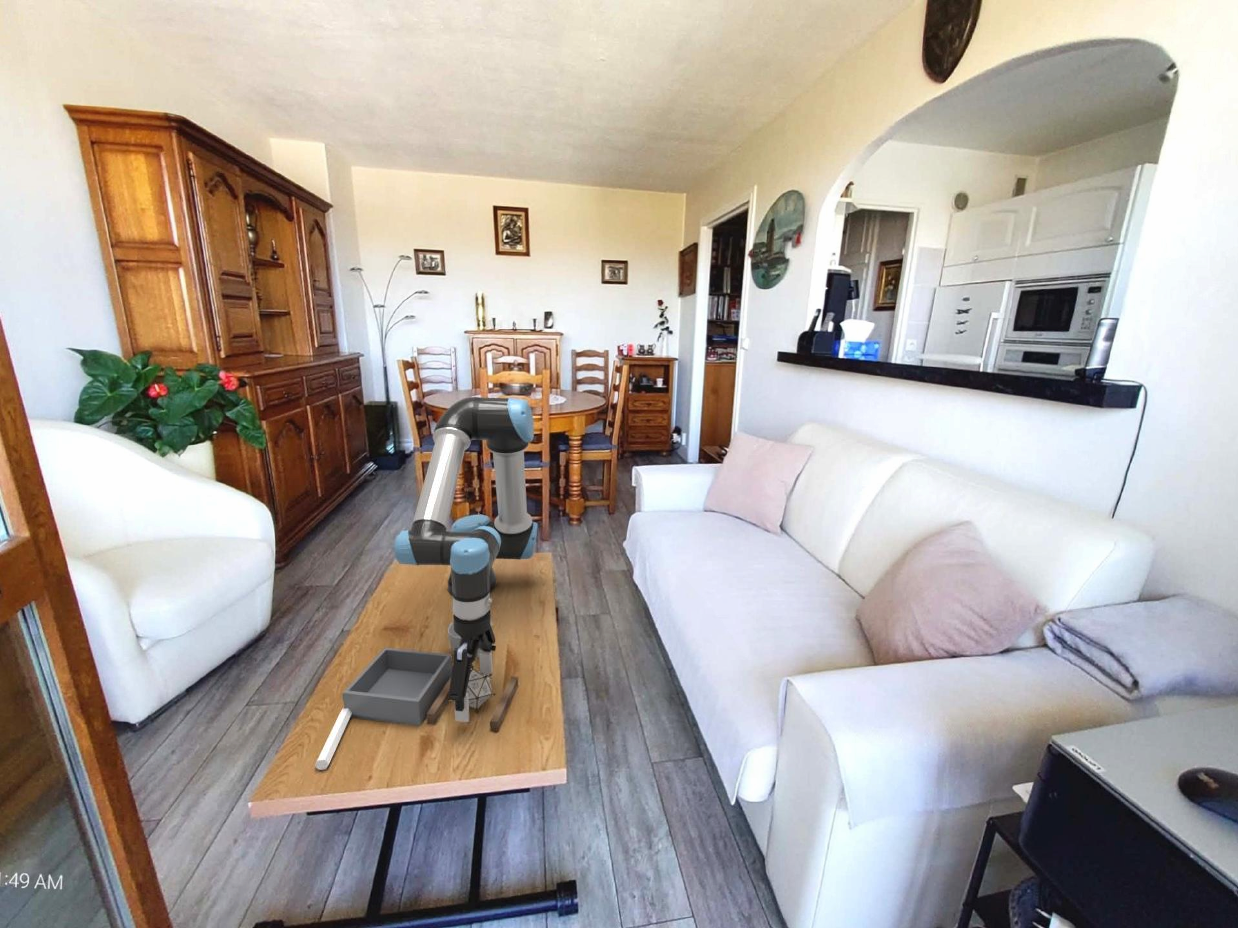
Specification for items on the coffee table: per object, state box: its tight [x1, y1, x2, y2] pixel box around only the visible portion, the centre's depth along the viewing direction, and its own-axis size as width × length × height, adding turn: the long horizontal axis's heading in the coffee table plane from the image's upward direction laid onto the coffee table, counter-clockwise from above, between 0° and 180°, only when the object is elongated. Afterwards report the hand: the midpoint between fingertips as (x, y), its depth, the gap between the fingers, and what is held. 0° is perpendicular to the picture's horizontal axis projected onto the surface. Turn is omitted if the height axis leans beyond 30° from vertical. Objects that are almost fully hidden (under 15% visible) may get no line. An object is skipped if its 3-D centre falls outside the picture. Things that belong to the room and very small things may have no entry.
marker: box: [314, 707, 352, 771], centre depth 98 cm, size 3×2×16 cm
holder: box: [426, 675, 519, 733], centre depth 108 cm, size 14×15×2 cm
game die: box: [466, 664, 497, 714], centre depth 107 cm, size 9×8×10 cm
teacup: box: [446, 620, 493, 659], centre depth 126 cm, size 14×11×8 cm
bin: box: [341, 647, 453, 727], centre depth 109 cm, size 16×17×6 cm
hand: (475, 697), depth 108 cm, fingers open, 13 cm apart
